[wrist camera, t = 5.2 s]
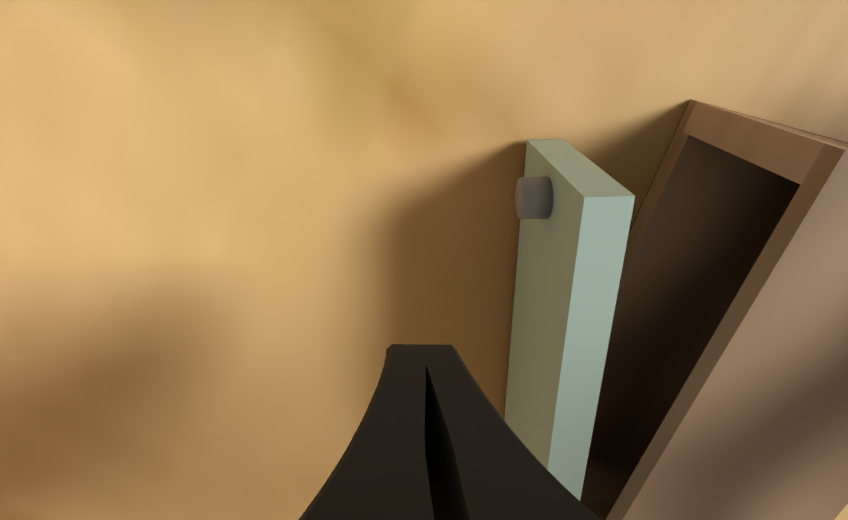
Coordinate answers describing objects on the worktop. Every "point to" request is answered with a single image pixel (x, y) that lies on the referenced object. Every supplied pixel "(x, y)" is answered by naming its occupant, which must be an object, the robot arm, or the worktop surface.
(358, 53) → the worktop surface
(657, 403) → the cabinet
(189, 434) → the worktop surface
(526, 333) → the cabinet door
